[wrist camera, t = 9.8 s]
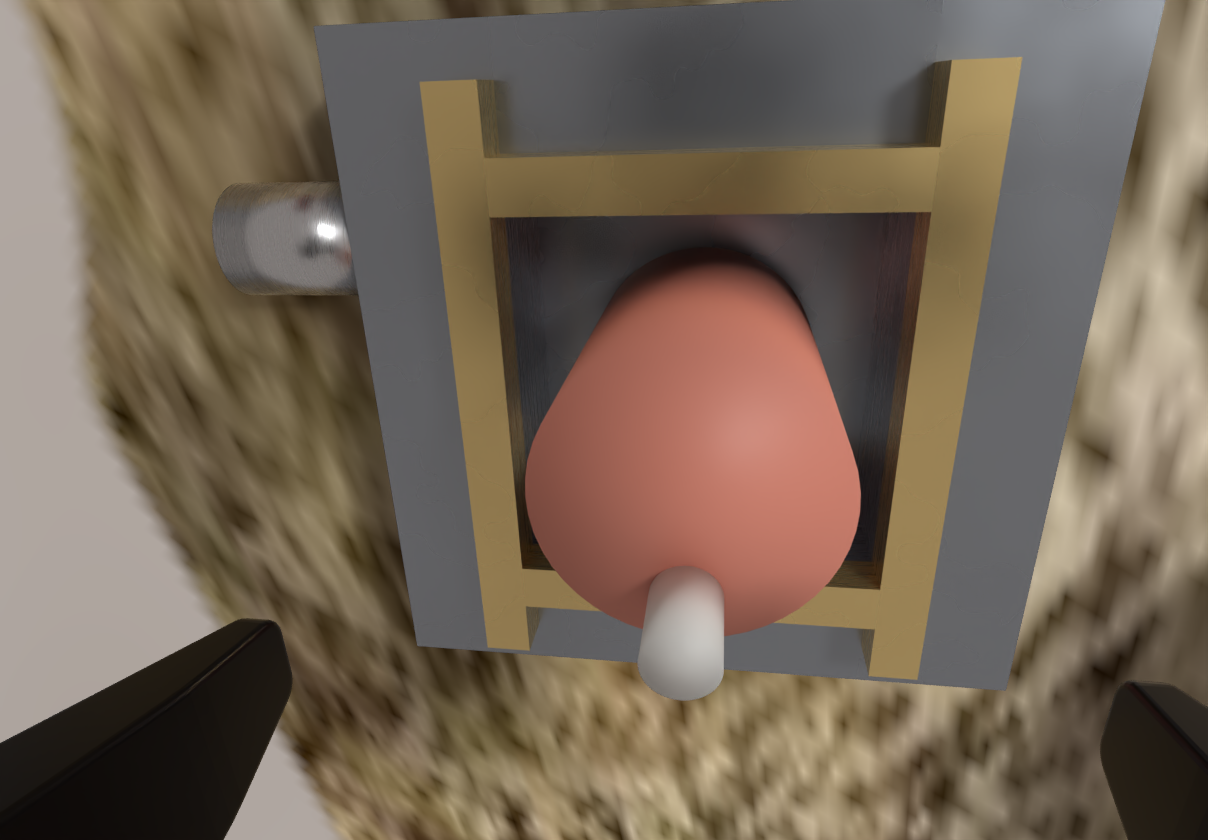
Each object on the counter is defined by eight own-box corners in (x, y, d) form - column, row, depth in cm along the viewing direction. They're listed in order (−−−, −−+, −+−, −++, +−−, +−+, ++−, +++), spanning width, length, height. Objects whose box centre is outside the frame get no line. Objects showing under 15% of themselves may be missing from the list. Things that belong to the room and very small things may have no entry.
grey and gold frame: (1085, 0, 14) (1208, -30, 11) (967, 607, 20) (1020, 724, 16) (254, 42, 17) (123, 30, 13) (358, 570, 22) (287, 664, 19)
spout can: (820, 245, 16) (904, 392, 8) (804, 454, 18) (859, 726, 10) (592, 247, 17) (477, 383, 9) (600, 447, 19) (512, 696, 11)
